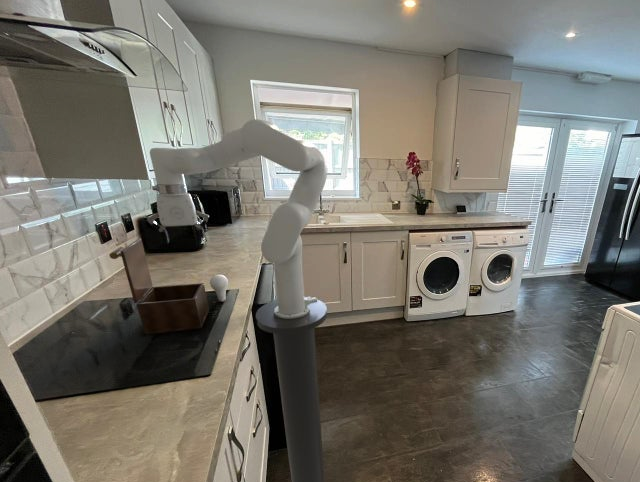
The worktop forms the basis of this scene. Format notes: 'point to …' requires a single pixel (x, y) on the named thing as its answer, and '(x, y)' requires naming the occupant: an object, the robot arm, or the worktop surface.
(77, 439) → the worktop surface
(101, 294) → the worktop surface
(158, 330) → the chest
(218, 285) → the lightbulb
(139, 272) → the lid
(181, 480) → the worktop surface
